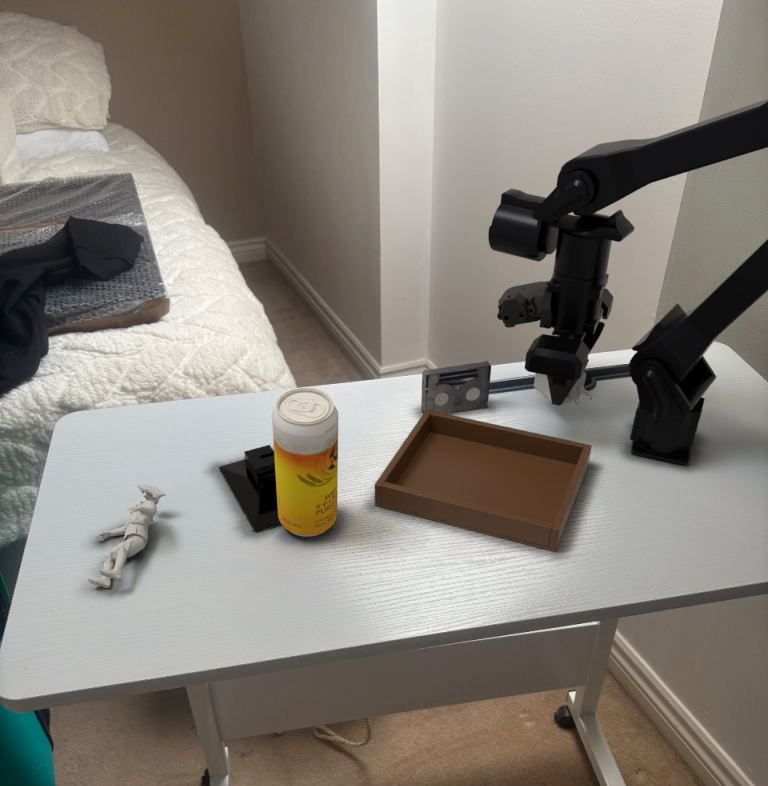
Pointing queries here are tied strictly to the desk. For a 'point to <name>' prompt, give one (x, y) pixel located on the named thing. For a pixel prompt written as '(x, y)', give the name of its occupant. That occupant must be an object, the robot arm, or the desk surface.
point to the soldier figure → (129, 536)
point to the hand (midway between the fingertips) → (562, 392)
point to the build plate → (255, 487)
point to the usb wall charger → (573, 395)
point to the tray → (485, 478)
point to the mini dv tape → (456, 388)
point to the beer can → (306, 460)
